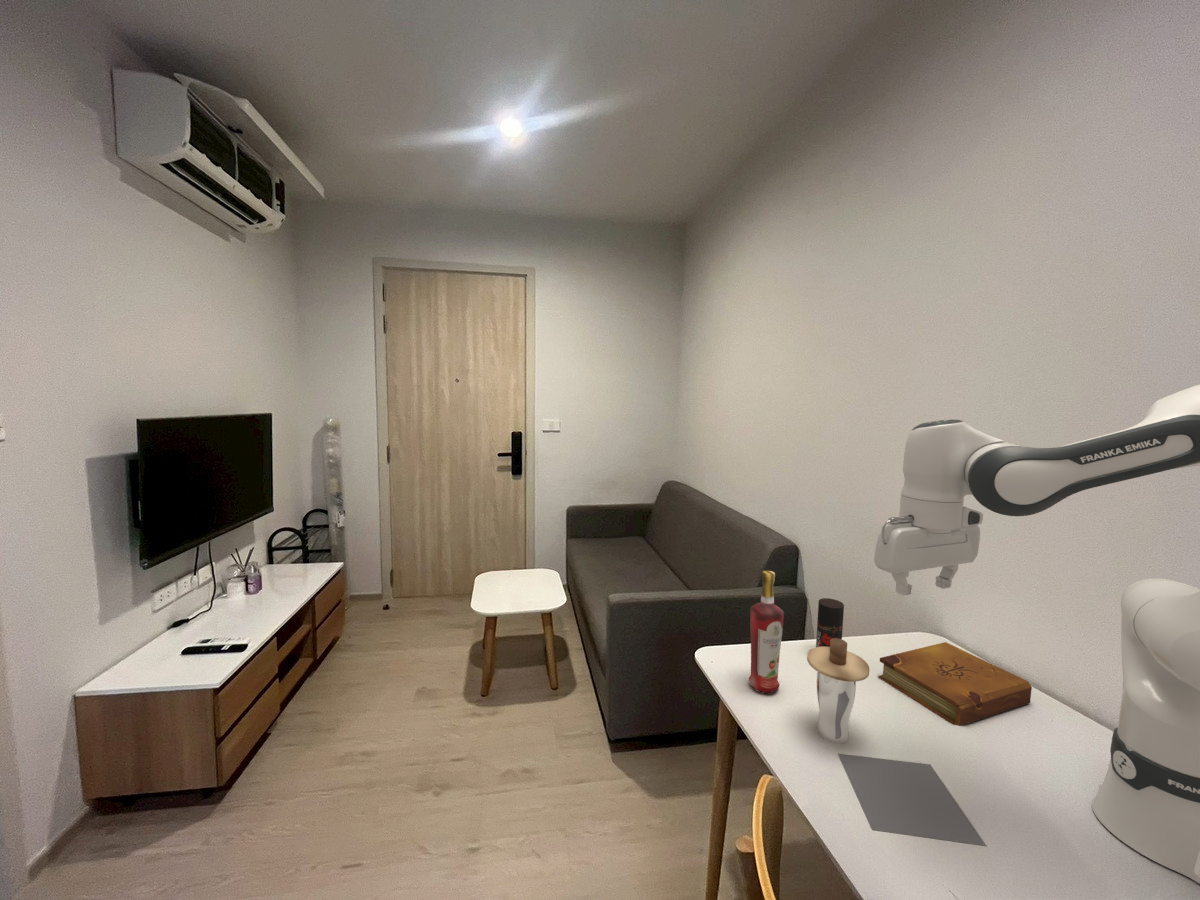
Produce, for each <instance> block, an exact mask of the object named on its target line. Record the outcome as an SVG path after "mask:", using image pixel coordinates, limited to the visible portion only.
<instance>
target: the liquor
mask: <svg viewBox="0 0 1200 900" xmlns="http://www.w3.org/2000/svg"><path fill="white" fill-rule="evenodd" d="M761 573H762V576H761V580H762V589H761V595H760V596H761V597H760V602H756V603H754V604H753V605H751V606H750V609H749V610H750V614H749V615H750V619H749V621H750V624H749V625H750V629H749V630H750V675H749V677H748V682H749V684H750V685H751V686H752V688H754V689H755V690H756V691H757V690H758V691H757V692H759V691H760V693H762V692H764V693H763V694H771V693H772V692H774V691H776V690H778V689H779V688H780V682H779V679H778V677H779V666H780V655H781V646H782V636H783V626H784V617H785V615H784V614H785V612H784V610H783V609H781V608H780V606H778V605H776V604H775V596H774V585H775V584H774V583H775V579H776V578H775V577H776V573H775V572H774V571H772V570H763V571H762V572H761ZM770 692H771V693H770Z"/></svg>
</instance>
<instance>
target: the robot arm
mask: <svg viewBox="0 0 1200 900" xmlns="http://www.w3.org/2000/svg"><path fill="white" fill-rule="evenodd" d="M905 442H906V443H905V446H904V455H903V461H902V462H903V464H902V473H903V478H904V484H903V486H902V488H901V492H900V499H899V500H900V501H899V514H898V516H892V517H889V518H888V519H887V520H886V521H885V522H884V524H882V526H881V529H880V530H879V533H878V536H877V540H876V543H875V544H876V545H875V549H874V550H875V551H874V558H873V559H874V560H873V561H874V564H875V566H876V567H877V568H878V569H880V570H882V571H883V572H888V573H889V574H891V576H892V578H893V580H894V582H895V592H896V594H898V595H901V596H908V595H911V594H912V588H913V585H911V584H909V583H908V580H907V578H909V575H910V572H915V571H920V570H927V569H935V568H941V567H942V568H941V571H940V572H939V575H936V576H935V586H936V587H937V588H941V589H942V590H944V589H950V588H952V581H953V579H954V577H955V575H956V573H957V572H958V570H959V565H961V564H963V565H964V564H968V563H970V564H971V563H973V562H974V561H975V560H976V558H977V557H978V554H979V548H980V540H981V529H980V526H979V525H982V523H983V520H984V514H983V513H982V512H981V511H979V510H975V509H973V508H969V507H967V506H964V500H965V496H967V495H968V496H969V495H970V496H973V497H974V499H975V500H976V501H977V502H978V503H979V504H980V505H981V506H982V507H984V508H985V509H988V510H989V511H991V512H993V513H996V514H999V515H1003V516H1008V517H1028V516H1032V515H1035V514H1036V515H1037V514H1039V513H1041V512H1042V513H1043V512H1044V511H1046V510H1048V509H1049V508H1051V507H1053V506H1054V505H1057V504H1058V503H1060V502H1062V501H1063V500H1065V499H1066V498H1068V497H1070V496H1073V495H1075V494H1077V493H1079V492H1082V491H1086V490H1089V489H1094V488H1098V487H1102V486H1106V485H1111V484H1115V483H1120V482H1123V481H1128V480H1132V479H1135V478H1140V477H1141V478H1142V477H1144V476H1150V475H1152V474H1153V475H1154V474H1158V473H1162V472H1166V471H1170V470H1175V469H1183V468H1184V469H1185V468H1190V467H1192V468H1193V467H1197V466H1199V467H1200V384H1196V385H1193V386H1190V387H1188V388H1185V389H1182V390H1180V391H1177V392H1174V393H1172V394H1169V395H1167V396H1165V397H1162V398H1159V399H1158V400H1156V401H1155V402H1154V403H1152V405H1151V406H1150V407H1149V408H1148V410H1147V411H1146V413H1145V415H1144V419H1143V420H1142V421H1140V422H1138V423H1136V424H1135V425H1133V426H1131V427H1127V428H1126V429H1125V428H1124V429H1122V430H1118V431H1114V432H1110V433H1106V434H1102V435H1099V436H1095V437H1091V438H1088V439H1084V440H1080V441H1079V440H1078V441H1075V442H1073V443H1068V444H1065V445H1060V446H1056V447H1029V446H1022V445H1020V444H1017V443H1013V442H1010V441H1007V440H1004V439H1001V438H998V437H995V436H993V435H990V434H987V433H985V432H982V431H980V430H978V429H977V428H974V427H973V426H971V425H970V424H968V423H966V422H965V421H963V420H962V419H961V420H960V419H943V420H934V421H933V420H932V421H927V422H922V423H920V424H918V425H915V426H913V428H912V429H911V430H910V431H909V433H908V436H907V439H906V441H905ZM1120 610H1121V613H1120V614H1121V622H1120V623H1121V625H1120V626H1121V629H1120V630H1121V632H1120V635H1121V637H1120V638H1121V641H1120V642H1121V647H1120V648H1121V667H1122V693H1121V700H1120V707H1119V708H1120V709H1119V715H1118V716H1119V717H1118V724H1117V725H1118V726H1117V727H1116V728H1114V730H1113V732H1112V737H1111V743H1110V748H1109V750H1110V752H1109V753H1110V761H1109V763H1108V768H1107V770H1106V773H1105V777H1104V779H1103V780H1102V781H1101V782H1100V784H1099V787H1098V788H1099V789H1098V792H1097V794H1096V796H1095V797H1094V798H1093V800H1092V803H1091V807H1092V811H1093V813H1094V814H1095V816H1096V818H1097V819H1098V821H1099V822H1100V823H1101V824H1102V825H1103V826H1104V827H1105V828H1106V829H1107V830H1108V831H1109V832H1111V833H1112V834H1113V835H1114V836H1115V837H1116V838H1117V839H1118V840H1120V841H1121V842H1123V843H1124V844H1126V845H1127V846H1128V847H1130V848H1131V849H1132V850H1135V851H1136V852H1137V853H1139V854H1141V855H1143V856H1145V857H1147V858H1148V859H1150V860H1152V861H1153V862H1156V863H1157V864H1160V865H1161V866H1163V867H1166V868H1168V869H1170V870H1172V871H1174V872H1177V873H1178V874H1180V875H1183V876H1184V877H1185V876H1186V877H1188V878H1189V879H1191V880H1193V881H1194V882H1196V883H1198V884H1199V885H1200V588H1199V587H1195V586H1194V585H1190V584H1187V583H1184V582H1180V581H1177V580H1172V579H1169V578H1161V577H1160V578H1157V577H1155V578H1151V577H1150V578H1146V579H1140V580H1137V581H1135V582H1133V583H1131V584H1129V586H1127V587H1126V588H1125V590H1124V591H1123V592H1122V594H1121V598H1120Z"/></svg>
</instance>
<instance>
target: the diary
mask: <svg viewBox="0 0 1200 900" xmlns="http://www.w3.org/2000/svg"><path fill="white" fill-rule="evenodd" d="M879 662H880V664H881V663H882V664H883V668H882V669H883V670H882V674H880V675H878V677H877V678H878V679H880V680H881V681H883V682H884V683H886V684H887V685H889V686H891V687H893V688H894V689H896V690H898V691H899V693H902V694H903V695H905V696H906V697H908V698H909V699H911V700H913V701H914V702H916V703H918V704H920V705H921V706H923V707H924V708H926V709H927V710H929V711H930V712H932V713H934V714H935V715H937V716H938V717H940V718H942V719H943V720H944V721H946V722H948V723H950V724H951V725H952V726H960V727H962V726H965V725H967V724H971V723H974V722H976V721H980V720H983V719H986V718H989V717H992V716H995V715H997V714H1002V713H1003V712H1007V711H1011V710H1013V709H1016V708H1019V707H1023V706H1025V705H1028V704H1031V698H1032V690H1033V689H1032V688H1033V687H1032V685H1031V684H1030V682H1029V681H1028V680H1026V679H1025V678H1022V677H1021V676H1018V675H1016V674H1014V673H1012V672H1009V671H1007V670H1005V669H1003V668H1001V667H999V666H997V665H995V664H992V662H988V661H986V660H985V659H982V658H980V657H979V656H976V655H974V654H972V653H971V652H968V651H966V650H963V649H962V648H959V647H958V646H955V645H953V644H951V643H948V642H947V641H943V642H941V643H936V644H932V645H928V646H924V647H919V648H915V649H911V650H908V651H907V650H906V651H903V652H898V653H894V654H890V655H886V656H882V657H880V658H879Z"/></svg>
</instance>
